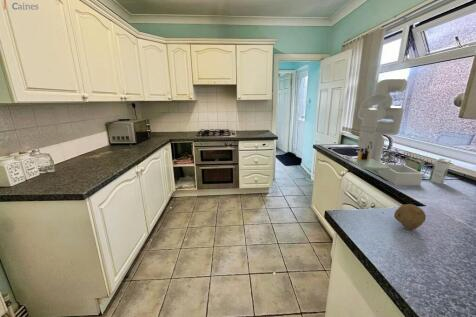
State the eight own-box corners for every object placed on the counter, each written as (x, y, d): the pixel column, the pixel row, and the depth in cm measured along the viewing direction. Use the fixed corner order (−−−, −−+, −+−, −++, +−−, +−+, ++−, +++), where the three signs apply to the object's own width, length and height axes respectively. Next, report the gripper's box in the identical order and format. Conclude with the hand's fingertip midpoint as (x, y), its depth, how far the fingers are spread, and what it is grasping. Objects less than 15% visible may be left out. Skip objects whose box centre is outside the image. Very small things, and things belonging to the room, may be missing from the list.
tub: (378, 175, 135) (380, 164, 133) (401, 176, 134) (403, 164, 132) (393, 186, 120) (396, 173, 117) (419, 186, 119) (423, 173, 116)
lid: (348, 161, 134) (350, 150, 132) (373, 162, 133) (375, 151, 131) (361, 170, 118) (363, 158, 116) (389, 171, 117) (392, 159, 115)
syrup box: (431, 180, 128) (437, 157, 124) (444, 183, 123) (451, 159, 119) (428, 182, 125) (434, 159, 121) (441, 185, 120) (448, 161, 116)
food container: (426, 177, 133) (430, 162, 130) (416, 177, 133) (420, 162, 130) (411, 170, 145) (415, 156, 142) (402, 170, 145) (405, 156, 142)
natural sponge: (390, 228, 82) (396, 205, 79) (393, 218, 88) (398, 197, 85) (420, 238, 76) (428, 214, 73) (421, 227, 82) (428, 204, 80)
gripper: (355, 127, 134) (351, 155, 139) (368, 131, 118) (363, 162, 124) (368, 127, 133) (362, 155, 138) (382, 131, 118) (376, 162, 123)
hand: (363, 158), depth 131 cm, fingers closed on lid
